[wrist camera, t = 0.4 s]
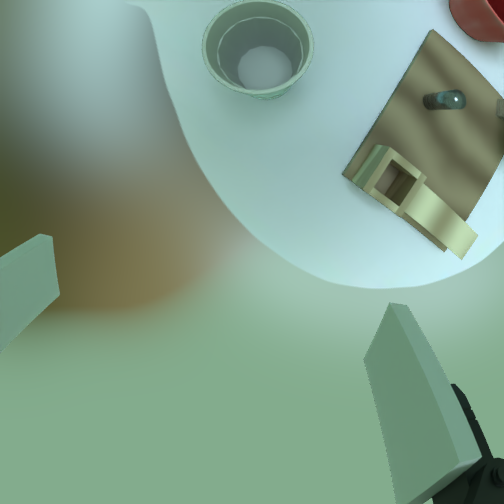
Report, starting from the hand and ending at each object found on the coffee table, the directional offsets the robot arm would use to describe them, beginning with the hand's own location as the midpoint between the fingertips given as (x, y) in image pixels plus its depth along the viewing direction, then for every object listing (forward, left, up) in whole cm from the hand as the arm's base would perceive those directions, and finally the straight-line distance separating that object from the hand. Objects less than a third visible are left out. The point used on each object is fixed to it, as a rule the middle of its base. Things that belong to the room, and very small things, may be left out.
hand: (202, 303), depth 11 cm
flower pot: (-36, +12, -25) cm, 46 cm away
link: (-8, +16, -24) cm, 30 cm away
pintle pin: (-19, +12, -25) cm, 34 cm away
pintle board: (-17, +16, -25) cm, 34 cm away
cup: (-11, -5, -25) cm, 28 cm away
